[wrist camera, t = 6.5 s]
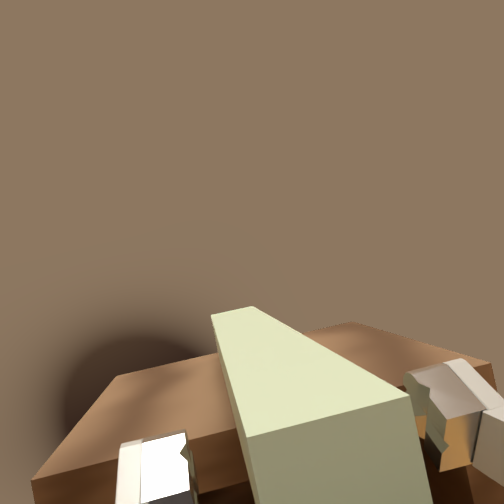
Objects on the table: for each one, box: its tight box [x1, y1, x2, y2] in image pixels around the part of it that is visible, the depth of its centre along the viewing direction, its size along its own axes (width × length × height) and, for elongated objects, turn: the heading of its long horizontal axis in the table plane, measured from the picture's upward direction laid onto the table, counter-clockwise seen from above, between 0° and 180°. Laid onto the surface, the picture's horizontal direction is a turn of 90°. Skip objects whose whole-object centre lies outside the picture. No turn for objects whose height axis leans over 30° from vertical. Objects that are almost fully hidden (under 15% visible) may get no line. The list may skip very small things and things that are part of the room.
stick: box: [211, 306, 433, 504], centre depth 19 cm, size 3×23×3 cm, turn 7°
